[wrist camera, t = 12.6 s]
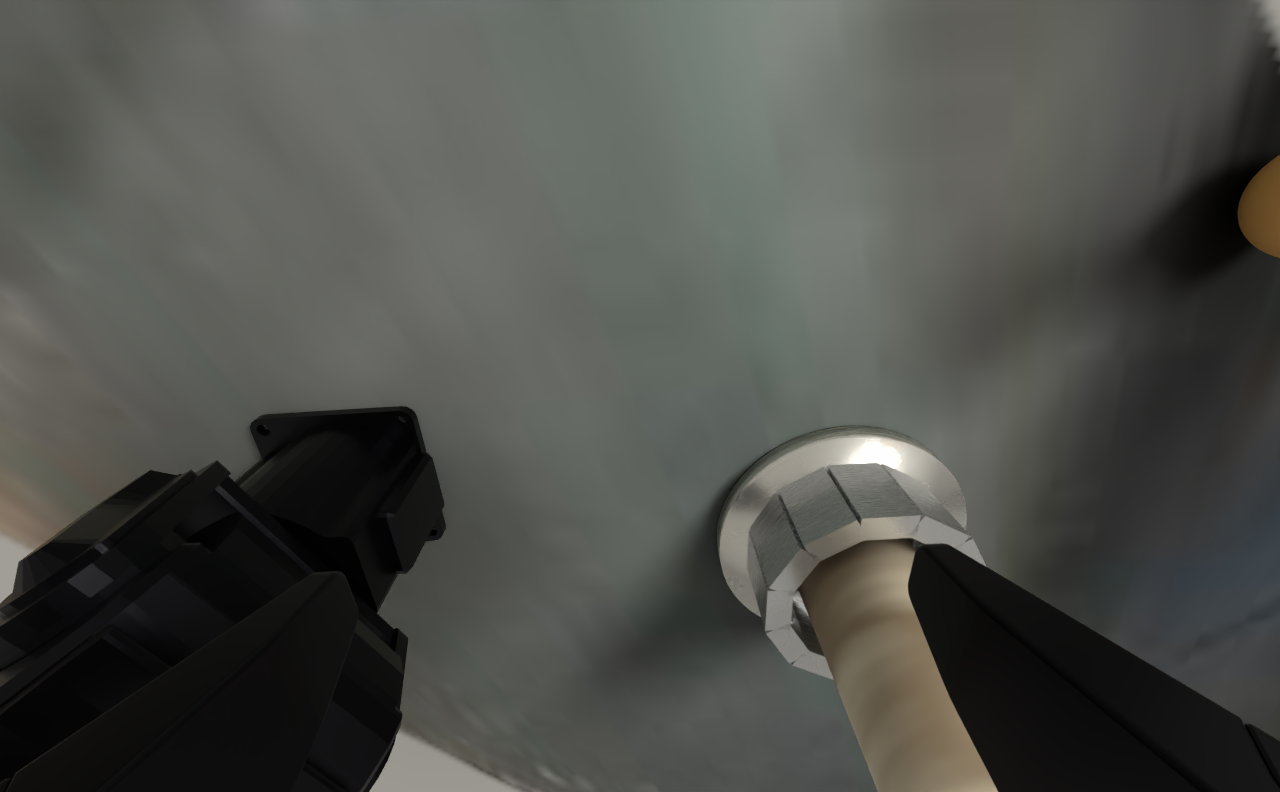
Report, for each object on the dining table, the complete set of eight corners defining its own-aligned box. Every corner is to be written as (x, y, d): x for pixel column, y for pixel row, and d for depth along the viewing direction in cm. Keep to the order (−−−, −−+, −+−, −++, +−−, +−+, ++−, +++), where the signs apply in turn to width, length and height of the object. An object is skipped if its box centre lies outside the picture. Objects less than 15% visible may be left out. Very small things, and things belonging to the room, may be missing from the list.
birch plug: (806, 601, 25) (966, 1000, 13) (767, 525, 23) (914, 915, 11) (910, 562, 24) (1181, 952, 12) (879, 479, 22) (1166, 850, 10)
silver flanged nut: (715, 621, 27) (731, 705, 23) (717, 433, 22) (737, 497, 18) (930, 608, 27) (984, 690, 23) (977, 418, 22) (1055, 478, 18)
